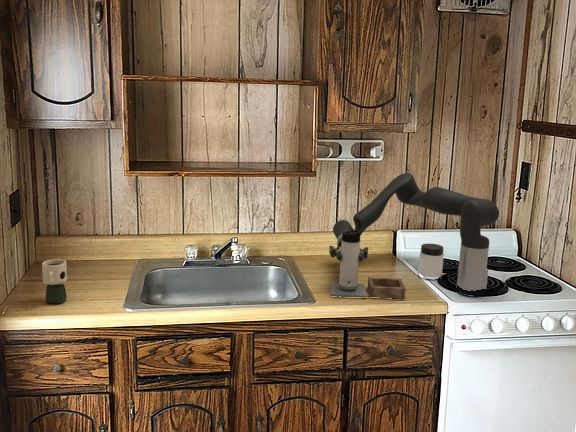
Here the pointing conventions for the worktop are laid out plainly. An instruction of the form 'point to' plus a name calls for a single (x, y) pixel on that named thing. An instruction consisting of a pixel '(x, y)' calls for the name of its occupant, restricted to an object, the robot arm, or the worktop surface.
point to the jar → (431, 260)
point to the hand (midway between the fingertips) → (350, 258)
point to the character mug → (55, 280)
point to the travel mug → (349, 260)
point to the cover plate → (347, 291)
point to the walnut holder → (386, 288)
